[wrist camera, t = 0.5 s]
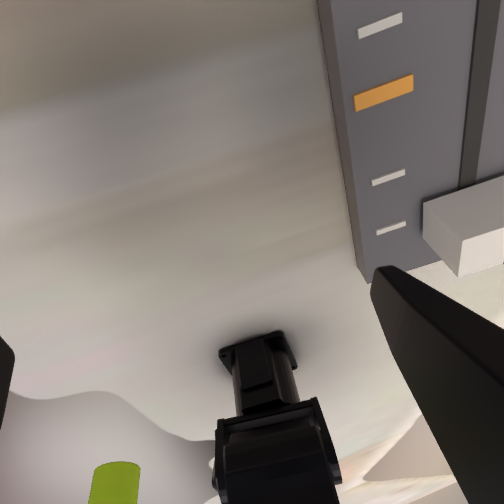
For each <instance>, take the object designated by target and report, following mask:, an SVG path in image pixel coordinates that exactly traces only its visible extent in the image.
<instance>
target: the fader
mask: <svg viewBox="0 0 504 504" xmlns="http://www.w3.org/2000/svg"><path fill="white" fill-rule="evenodd" d="M423 239H424V240H425V241H426V242H427V243H428V244H429V246H430V247H431V248H432V249H433V250H434V251H435V252H436V253H437V255H438V256H439V257H440V258H441V259H442V260H443V261H444V262H445V264H446V265H447V266H448V267H449V268H450V269H451V270H452V271H453V273H454V274H455V275H456V276H457V277H461V276H464V275H467V274H470V273H474V272H477V271H480V270H483V269H486V268H489V267H492V266H496V265H499V264H502V263H503V264H504V175H503V176H501V177H498V178H495V179H492V180H489V181H486V182H483V183H480V184H477V185H474V186H471V187H468V188H465V189H462V190H459V191H457V192H454V193H451V194H448V195H445V196H442V197H439V198H436V199H433V200H430V201H427V202H424V203H423Z"/></svg>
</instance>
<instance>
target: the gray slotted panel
mask: <svg viewBox="0 0 504 504" xmlns="http://www.w3.org/2000/svg"><path fill="white" fill-rule="evenodd" d="M317 4H318V10H319V17H320V24H321V30H322V37H323V43H324V50H325V56H326V63H327V70H328V76H329V83H330V89H331V96H332V102H333V109H334V116H335V122H336V129H337V135H338V142H339V149H340V155H341V162H342V168H343V175H344V181H345V188H346V195H347V201H348V208H349V214H350V221H351V227H352V234H353V241H354V247H355V254H356V260H357V267H358V269H359V270H360V272H361V274H362V276H363V277H364V279H365V281H366V282H367V284H369V283H372V279H373V273H374V270H375V269H376V268H377V267H380V266H387V265H393V266H396V267H397V268H399V269H401V270H403V271H404V272H406V271H409V270H412V269H415V268H418V267H421V266H425V265H428V264H431V263H434V262H437V261H440V260H442V259H441V258H440V257H439V256H438V255H437V253H436V252H435V251H434V250H433V249H432V248H431V247H430V246H429V244H428V243H427V242H426V241H425V240H424V239H423V203H424V202H427V201H430V200H433V199H436V198H439V197H442V196H445V195H448V194H451V193H454V192H457V191H459V190H462V189H465V188H468V187H471V186H474V185H477V184H480V183H483V182H486V181H489V180H492V179H495V178H498V177H501V176H503V175H504V0H317Z"/></svg>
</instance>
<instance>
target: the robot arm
mask: <svg viewBox="0 0 504 504" xmlns="http://www.w3.org/2000/svg"><path fill="white" fill-rule="evenodd" d="M370 296H371V300H372V303H373V305H374V308H375V311H376V313H377V316H378V319H379V321H380V324H381V327H382V329H383V332H384V335H385V337H386V340H387V342H388V345H389V348H390V350H391V352H392V355H393V357H394V359H395V361H396V363H397V365H398V367H399V369H400V371H401V373H402V375H403V377H404V379H405V381H406V383H407V385H408V387H409V388H410V390H411V392H412V394H413V396H414V398H415V400H416V402H417V404H418V406H419V408H420V410H421V412H422V414H423V416H424V418H425V420H426V422H427V423H428V425H429V427H430V429H431V431H432V433H433V435H434V437H435V439H436V441H437V443H438V445H439V447H440V449H441V451H442V453H443V454H444V457H445V458H446V460H447V462H448V464H449V466H450V468H451V470H452V472H453V474H454V476H455V478H456V480H457V482H458V484H459V486H460V487H461V490H462V491H463V493H464V495H465V497H466V499H467V501H468V503H469V504H504V329H502V328H501V327H499V326H497V325H496V324H494V323H492V322H490V321H489V320H487V319H485V318H484V317H482V316H480V315H478V314H477V313H475V312H473V311H471V310H470V309H468V308H466V307H465V306H463V305H461V304H459V303H458V302H456V301H454V300H453V299H451V298H449V297H447V296H446V295H444V294H442V293H440V292H439V291H437V290H435V289H434V288H432V287H430V286H428V285H427V284H425V283H423V282H422V281H420V280H418V279H416V278H415V277H413V276H411V275H410V274H408V273H406V272H404V271H403V270H401V269H399V268H397V267H396V266H393V265H387V266H380V267H377V268H376V269H375V270H374V273H373V279H372V284H371V289H370ZM218 354H219V358H220V360H221V361H222V362H223V364H224V365H225V367H226V368H227V370H228V371H229V372H230V374H231V375H232V377H233V386H234V395H235V404H236V413H237V416H236V417H232V418H228V419H224V418H223V419H218V420H217V429H216V430H215V442H216V443H215V461H214V468H213V475H212V486H213V488H214V489H215V490H216V491H218V493H219V497H220V500H221V503H222V504H340V503H339V500H338V496H337V492H336V488H335V485H338V484H342V477H341V472H340V468H339V464H338V460H337V456H336V453H335V449H334V446H333V443H332V440H331V437H330V434H329V431H328V428H327V425H326V422H325V420H324V417H323V414H322V411H321V408H320V405H319V402H318V399H317V397H314V398H310V400H306V401H301V402H300V399H299V395H298V391H297V387H296V384H295V380H294V376H293V372H292V370H295V369H297V367H298V366H297V363H296V360H295V358H294V356H293V353H292V351H291V349H290V347H289V344H288V342H287V340H286V337H285V335H284V333H283V332H280V331H279V332H275V333H272V334H269V335H266V336H263V337H260V338H257V339H253V340H250V341H247V342H244V343H241V344H238V345H235V346H232V347H228V348H225V349H222V350H220V351H219V352H218ZM14 362H15V355H14V352H13V350H12V349H11V348H10V347H9V345H8V344H7V343H6V342H5V341H4V340H3V339H2V337H1V336H0V429H1V426H2V421H3V417H4V412H5V408H6V403H7V397H8V393H9V388H10V383H11V377H12V372H13V367H14Z"/></svg>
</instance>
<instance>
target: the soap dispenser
mask: <svg viewBox="0 0 504 504" xmlns="http://www.w3.org/2000/svg"><path fill="white" fill-rule="evenodd" d="M139 477H140V467H139V466H138V465H137V464H134V463H131V462H111V463H106V464H103V465H101V466H99V467H97V468H96V469H95V471H94V475H93V480H92V486H91V491H90V496H89V501H88V504H137V498H138V487H139Z"/></svg>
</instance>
